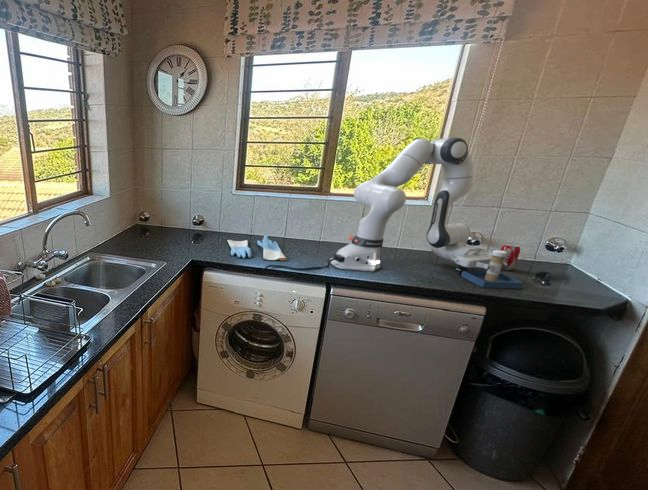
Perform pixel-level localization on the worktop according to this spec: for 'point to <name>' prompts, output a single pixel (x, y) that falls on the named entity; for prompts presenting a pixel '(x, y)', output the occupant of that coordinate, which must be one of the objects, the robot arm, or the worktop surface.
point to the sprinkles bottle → (495, 265)
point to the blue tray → (501, 282)
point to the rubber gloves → (269, 248)
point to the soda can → (510, 255)
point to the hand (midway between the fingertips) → (497, 266)
